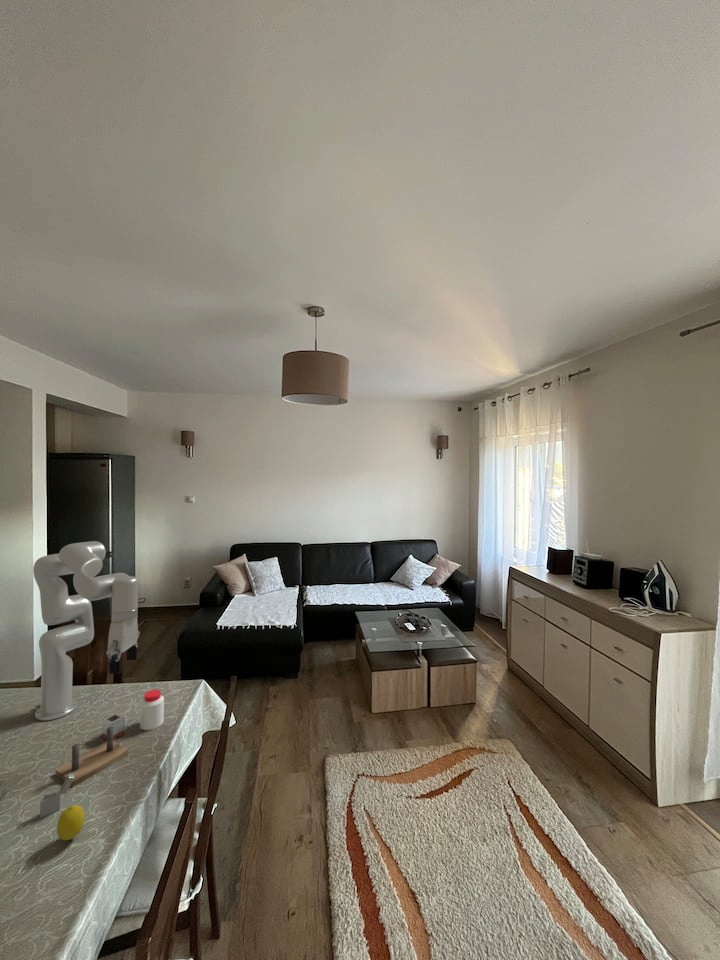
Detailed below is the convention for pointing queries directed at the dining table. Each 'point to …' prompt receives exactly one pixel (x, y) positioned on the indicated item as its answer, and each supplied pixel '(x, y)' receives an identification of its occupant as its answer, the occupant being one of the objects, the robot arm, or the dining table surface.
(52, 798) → the grey flat piece
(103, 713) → the dining table surface
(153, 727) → the pill bottle
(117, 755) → the pin board
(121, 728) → the sleeve
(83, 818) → the lemon
